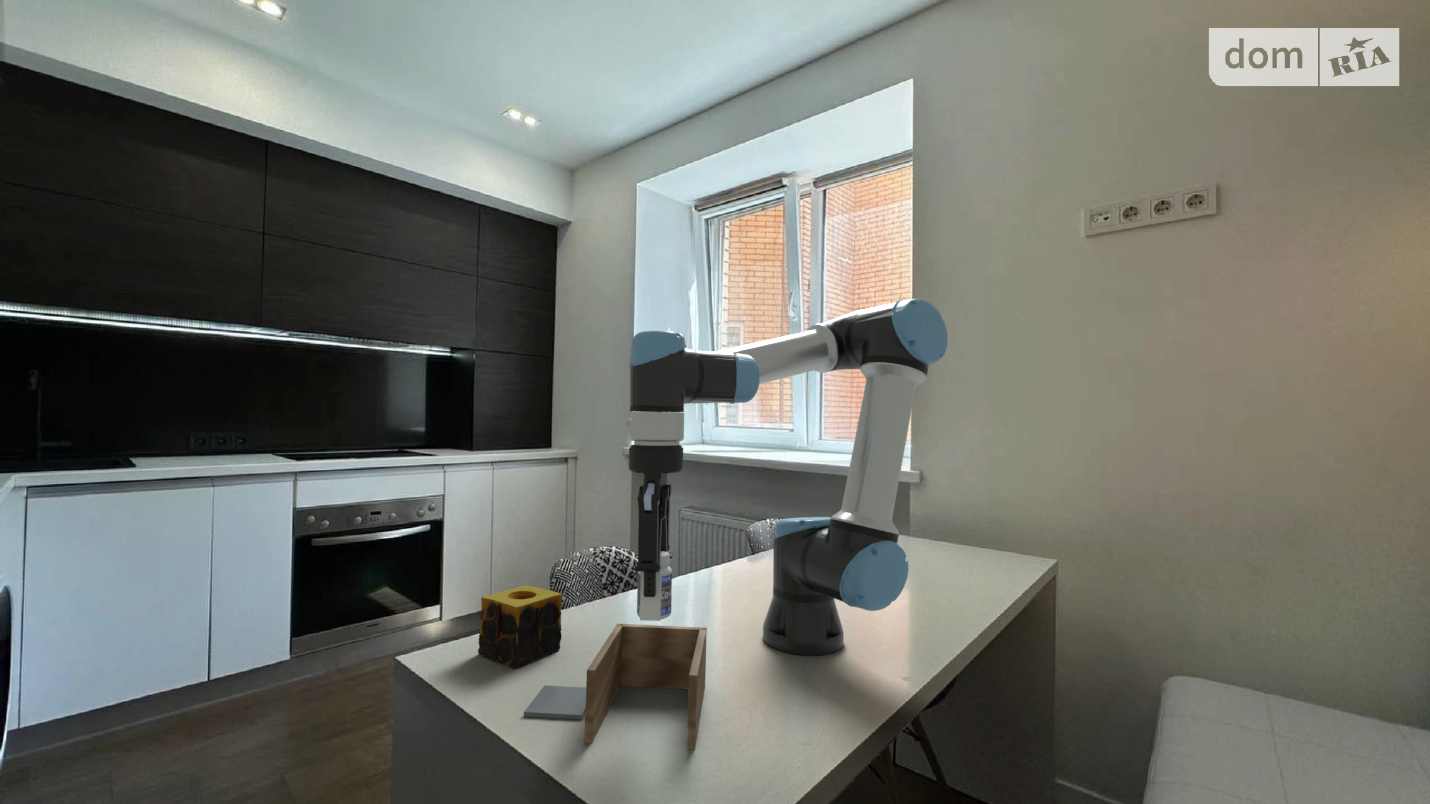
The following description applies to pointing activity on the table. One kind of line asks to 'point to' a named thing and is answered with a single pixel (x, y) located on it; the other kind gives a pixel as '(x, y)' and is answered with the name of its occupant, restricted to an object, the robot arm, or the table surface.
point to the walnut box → (647, 669)
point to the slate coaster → (558, 703)
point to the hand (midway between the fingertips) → (653, 612)
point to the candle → (520, 625)
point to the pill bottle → (665, 586)
